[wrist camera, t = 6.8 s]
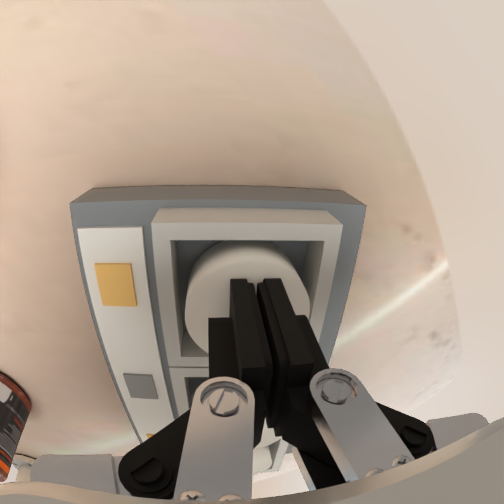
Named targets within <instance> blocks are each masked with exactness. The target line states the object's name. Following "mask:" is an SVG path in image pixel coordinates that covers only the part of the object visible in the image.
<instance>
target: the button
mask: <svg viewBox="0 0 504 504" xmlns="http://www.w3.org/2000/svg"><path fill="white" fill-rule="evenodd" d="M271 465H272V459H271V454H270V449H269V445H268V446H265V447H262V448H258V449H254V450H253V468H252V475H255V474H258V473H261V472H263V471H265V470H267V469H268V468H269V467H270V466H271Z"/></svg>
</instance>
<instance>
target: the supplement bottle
mask: <svg viewBox="0 0 504 504" xmlns="http://www.w3.org/2000/svg"><path fill="white" fill-rule="evenodd" d="M30 411H31V405H30V402H29V400H28V398H27V397H26V395H25V394H24V392H23V391H22V390H21V389H20V388H19V387H18V386H17V385H16V384H15V383H14V382H13V381H12V380H10V379H9V378H8V377H6V376H5V375H3V374H1V373H0V482H3V481H5V480H6V479H7V477H8V473H9V470H10V467H11V464H12V461H13V457H14V454H15V451H16V448H17V445H18V442H19V440H20V437H21V434H22V432H23V429H24V426H25V424H26V421H27V418H28V416H29V413H30Z"/></svg>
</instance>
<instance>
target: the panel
mask: <svg viewBox="0 0 504 504" xmlns="http://www.w3.org/2000/svg"><path fill="white" fill-rule="evenodd" d="M70 210H71V218H72V225H73V231H74V238H75V243H76V249H77V254H78V260H79V265H80V269H81V274H82V279H83V283H84V287H85V291H86V295H87V299H88V303H89V307H90V311H91V314H92V318H93V322H94V325H95V328H96V332H97V335H98V338H99V341H100V344H101V348H102V351H103V354H104V357H105V359H106V362H107V365H108V368H109V371H110V373H111V376H112V379H113V381H114V384H115V386H116V389H117V392H118V394H119V396H120V399H121V401H122V404H123V406H124V408H125V411H126V413H127V415H128V417H129V420H130V422H131V424H132V426H133V428H134V430H135V432H136V435H137V437H138V439H139V441H140V443H143V442H144V441H146V440H147V439H149V438H150V437H151V436H153V435H154V434H156V433H157V432H159V431H160V430H161V429H163V428H164V427H166V426H167V425H169V424H170V423H171V422H173V421H174V420H175V419H177V418H178V417H180V416H181V415H182V414H184V413H185V412H186V411H188V410H189V409H190V408H191V407H192V402H193V398H194V394H195V392H196V390H197V388H198V387H199V386H200V385H201V384H202V383H203V382H205V381H207V380H209V353H207V352H205V351H204V350H203V349H201V348H200V347H199V346H198V345H197V344H196V343H195V342H194V340H193V339H192V338H191V336H190V334H189V332H188V330H187V327H186V323H185V306H186V297H187V288H188V280H189V275H190V272H191V270H192V268H193V266H194V264H195V262H196V261H197V260H198V258H199V257H200V256H201V255H202V254H203V253H204V252H205V251H207V250H208V249H209V248H211V247H212V246H214V245H215V244H218V243H220V242H222V241H225V240H265V241H268V242H270V243H272V244H274V245H275V246H277V247H278V248H280V249H281V250H282V251H283V252H284V253H285V254H286V255H287V256H288V258H289V259H290V261H291V262H292V264H293V266H294V268H295V270H296V272H297V274H298V276H299V277H300V279H301V281H302V283H303V285H304V287H305V289H306V291H307V294H308V296H309V301H310V314H309V318H308V320H309V323H310V325H311V327H312V329H313V332H314V334H315V336H316V339H317V341H318V343H319V345H320V348H321V350H322V352H323V355H324V357H325V359H326V362H327V364H329V361H330V357H331V354H332V351H333V348H334V344H335V341H336V337H337V334H338V330H339V327H340V323H341V319H342V316H343V312H344V308H345V304H346V300H347V296H348V292H349V288H350V284H351V280H352V276H353V271H354V267H355V262H356V258H357V253H358V248H359V243H360V238H361V233H362V228H363V223H364V217H365V211H366V205H365V204H363V203H362V202H360V201H359V200H357V199H355V198H354V197H352V196H351V195H349V194H347V193H346V192H344V191H338V190H324V189H309V188H290V187H267V186H230V185H170V186H133V187H111V188H93V189H90V190H89V191H87V192H86V193H84V194H83V195H81V196H80V197H78V198H77V199H75V200H74V201H72V202H71V203H70ZM269 449H270V454H271V459H272V465H271V466H270V467H269V468H268V469H267V470H265V471H263V472H272V471H279V469H280V466H281V464H282V461H283V458H284V455H285V454H286V453H292V450H291V444H289V443H287V442H286V441H284V440H282V438H281V439H279V440H278V441H276V442H274V443H272V444H270V445H269ZM263 472H261V473H263Z"/></svg>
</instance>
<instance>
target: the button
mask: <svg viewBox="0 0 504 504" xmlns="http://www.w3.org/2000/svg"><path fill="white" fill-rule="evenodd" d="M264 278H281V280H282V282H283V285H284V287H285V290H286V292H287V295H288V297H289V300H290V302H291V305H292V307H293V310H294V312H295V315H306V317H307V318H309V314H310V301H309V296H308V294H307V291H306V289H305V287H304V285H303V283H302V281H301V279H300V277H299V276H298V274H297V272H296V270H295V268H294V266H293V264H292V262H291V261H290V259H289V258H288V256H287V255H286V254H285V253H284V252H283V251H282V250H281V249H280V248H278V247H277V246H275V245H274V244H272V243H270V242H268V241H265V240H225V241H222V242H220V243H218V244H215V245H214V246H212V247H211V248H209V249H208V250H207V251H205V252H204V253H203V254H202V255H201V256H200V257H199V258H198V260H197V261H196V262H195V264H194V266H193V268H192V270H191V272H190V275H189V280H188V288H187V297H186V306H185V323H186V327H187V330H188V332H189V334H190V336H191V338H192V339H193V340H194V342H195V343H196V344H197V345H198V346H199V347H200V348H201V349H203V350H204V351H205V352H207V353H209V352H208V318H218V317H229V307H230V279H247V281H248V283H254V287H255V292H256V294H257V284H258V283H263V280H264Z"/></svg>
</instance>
